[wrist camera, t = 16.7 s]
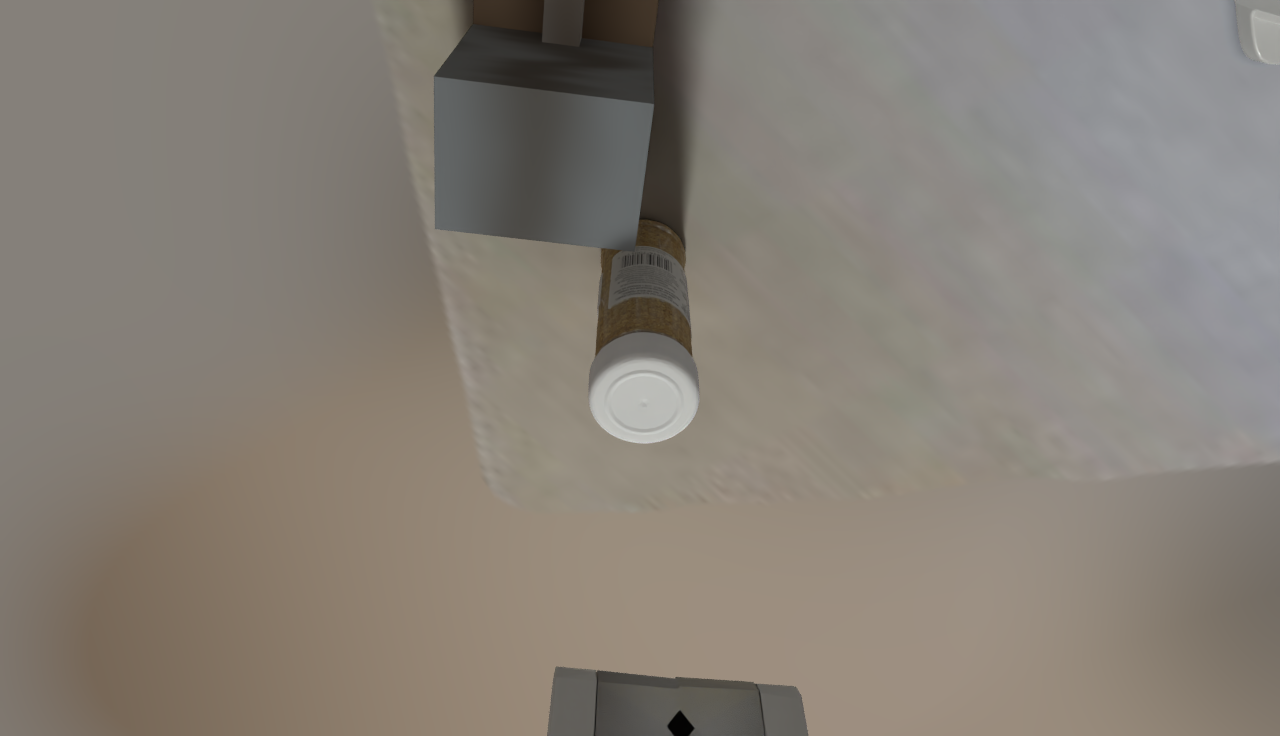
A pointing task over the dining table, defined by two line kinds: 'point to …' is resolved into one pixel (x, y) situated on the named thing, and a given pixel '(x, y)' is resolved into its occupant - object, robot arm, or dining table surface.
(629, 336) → the sprinkles bottle
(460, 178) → the rail frame
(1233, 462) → the dining table surface
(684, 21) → the dining table surface
